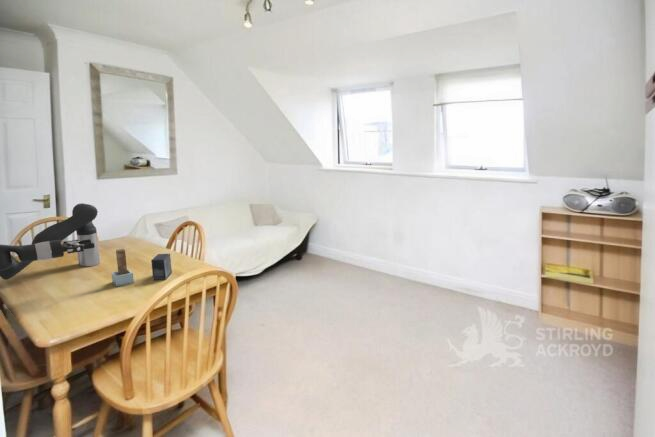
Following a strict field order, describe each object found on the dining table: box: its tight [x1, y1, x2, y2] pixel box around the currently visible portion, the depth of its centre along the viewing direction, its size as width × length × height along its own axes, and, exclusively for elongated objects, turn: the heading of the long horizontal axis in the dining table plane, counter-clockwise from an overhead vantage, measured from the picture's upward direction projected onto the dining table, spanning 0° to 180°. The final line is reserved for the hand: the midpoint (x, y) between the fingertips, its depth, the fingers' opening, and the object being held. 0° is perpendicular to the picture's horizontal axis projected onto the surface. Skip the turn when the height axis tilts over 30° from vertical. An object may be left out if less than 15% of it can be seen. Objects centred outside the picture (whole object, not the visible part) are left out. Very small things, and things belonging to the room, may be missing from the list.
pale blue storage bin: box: [111, 268, 135, 288], centre depth 191 cm, size 8×8×5 cm
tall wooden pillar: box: [115, 248, 128, 275], centre depth 190 cm, size 3×3×15 cm
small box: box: [150, 253, 173, 281], centre depth 199 cm, size 11×6×10 cm, turn 5°
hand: (92, 243), depth 181 cm, fingers open, 8 cm apart
